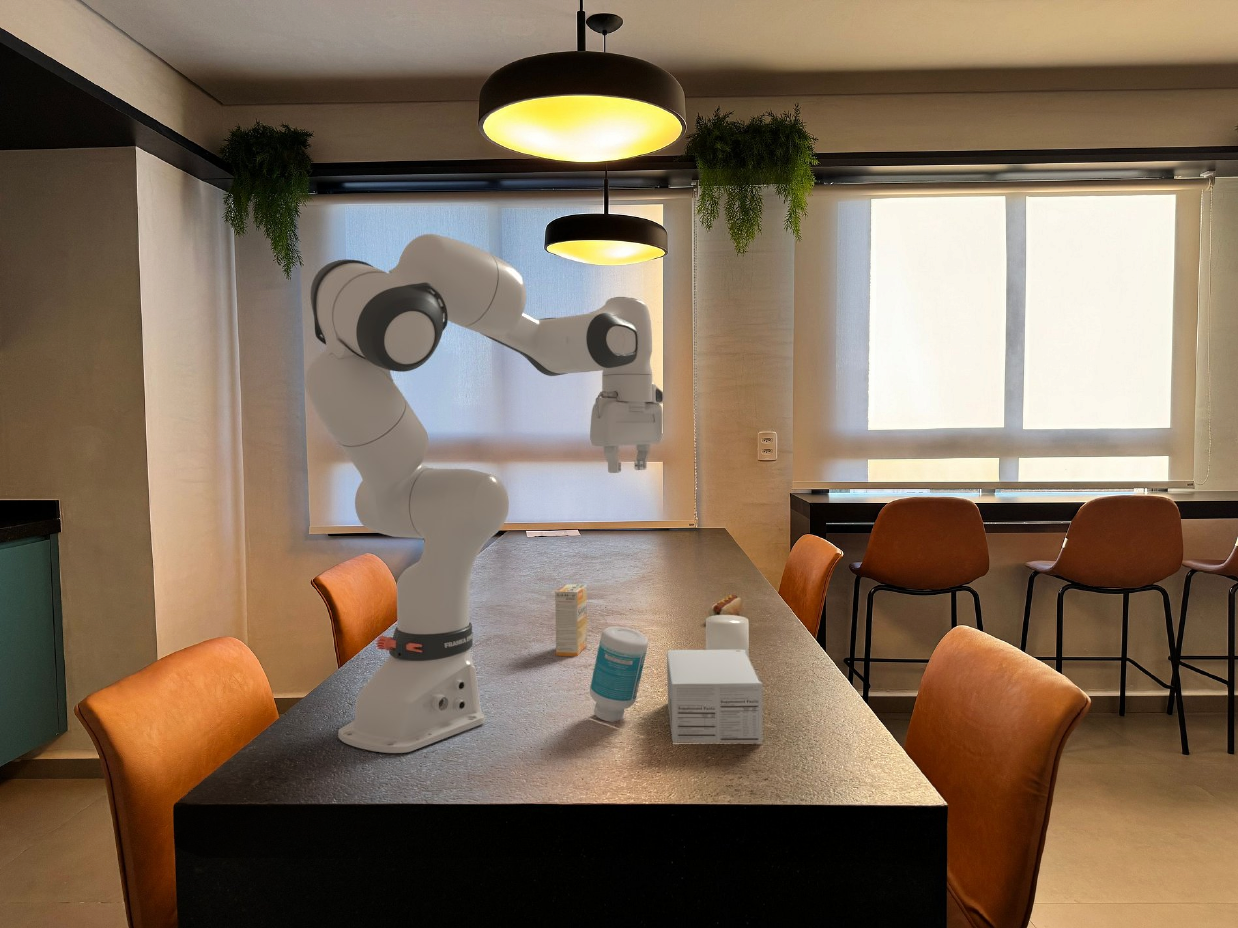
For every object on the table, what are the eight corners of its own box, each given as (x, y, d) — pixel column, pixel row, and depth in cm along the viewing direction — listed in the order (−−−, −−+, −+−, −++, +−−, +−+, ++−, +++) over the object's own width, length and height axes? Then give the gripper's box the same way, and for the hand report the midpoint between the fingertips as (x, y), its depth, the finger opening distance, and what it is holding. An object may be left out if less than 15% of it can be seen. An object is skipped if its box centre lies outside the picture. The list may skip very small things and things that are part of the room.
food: (728, 626, 180) (727, 605, 180) (705, 624, 182) (705, 603, 182) (745, 613, 193) (745, 593, 192) (724, 611, 195) (723, 591, 195)
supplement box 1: (578, 657, 156) (577, 592, 156) (555, 656, 157) (554, 591, 157) (588, 646, 164) (587, 583, 164) (566, 645, 165) (565, 583, 165)
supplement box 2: (666, 705, 130) (665, 648, 129) (746, 704, 129) (746, 648, 129) (671, 746, 113) (670, 682, 112) (763, 746, 112) (763, 681, 112)
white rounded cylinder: (740, 675, 144) (740, 627, 143) (699, 669, 148) (699, 622, 147) (754, 664, 151) (754, 617, 150) (715, 658, 155) (715, 613, 154)
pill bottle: (592, 627, 122) (575, 709, 123) (628, 645, 117) (609, 730, 118) (624, 622, 127) (606, 700, 129) (659, 639, 122) (640, 720, 124)
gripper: (613, 389, 128) (614, 475, 128) (668, 394, 146) (668, 468, 146) (580, 391, 131) (581, 474, 132) (638, 395, 149) (638, 468, 149)
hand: (627, 471), depth 139 cm, fingers open, 8 cm apart
